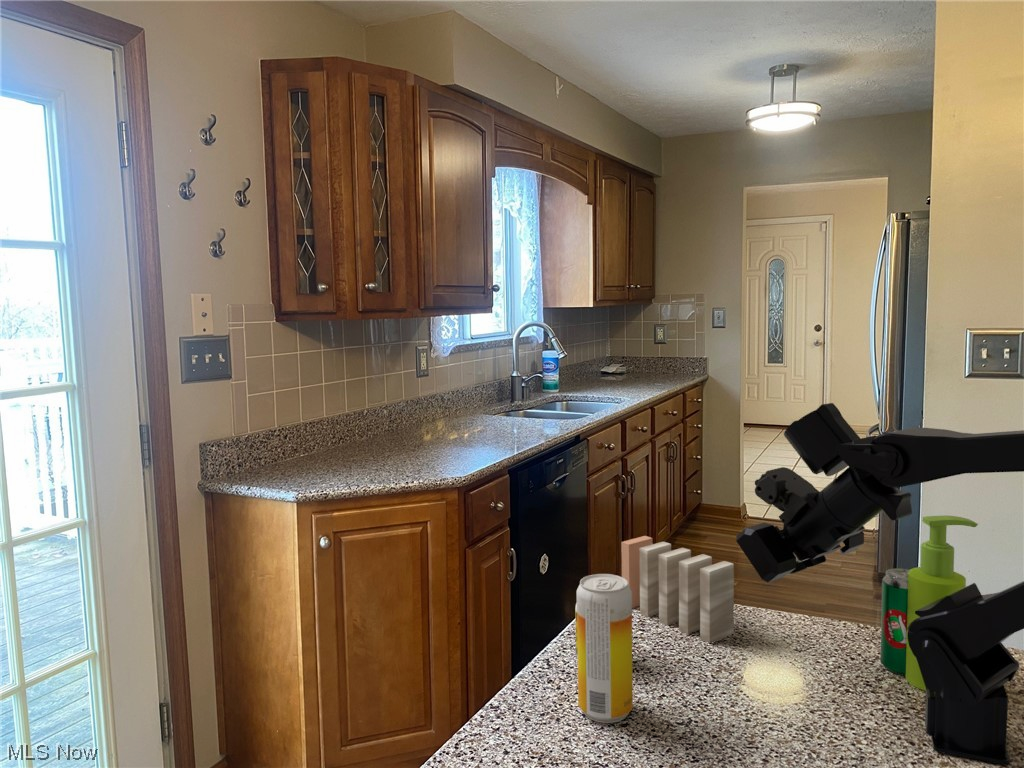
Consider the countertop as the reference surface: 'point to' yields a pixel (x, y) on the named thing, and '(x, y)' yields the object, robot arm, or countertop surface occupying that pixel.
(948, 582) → the soap dispenser
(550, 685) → the countertop surface
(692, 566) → the domino
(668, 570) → the domino
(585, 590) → the beer can
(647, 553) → the domino
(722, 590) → the domino
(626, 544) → the domino
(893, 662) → the soda can
